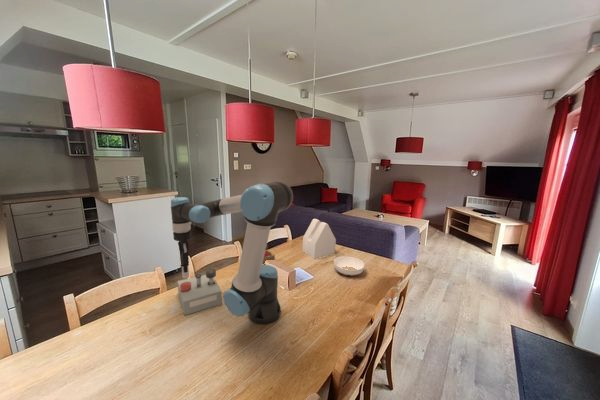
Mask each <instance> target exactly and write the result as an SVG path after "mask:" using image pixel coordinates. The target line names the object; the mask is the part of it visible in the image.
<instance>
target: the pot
mask: <svg viewBox="0 0 600 400" xmlns="http://www.w3.org/2000/svg"><path fill="white" fill-rule="evenodd" d="M201 276H202V274H201V273H197V274H196V275H195V277H196V281H197V287H200V286H201Z"/></svg>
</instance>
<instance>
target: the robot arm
mask: <svg viewBox="0 0 600 400" xmlns="http://www.w3.org/2000/svg"><path fill="white" fill-rule="evenodd" d="M293 193H294V192H293V189H292V188H291V187H290V186H289V185H288V184H287V183H285V182H282V181H273V182H268V183H267V182H266V183H257V184H255V185H252V186H248V188H246V189H245V190H244V191H243V193H242V194H239V195H233V196H228V197H226V198H225V197H224V198H219V199H216V200H212V201H211V200H210V201H206V202H201V203H190V199H189V197H185V196H181V197H180V196H179V197H173V198H171V200H170V211H171V212H170V213H171V221H172V231H173V232H172V236H173V240H174V241H176V242H177V245H178V249H179V256H180V258H179V259H180V262H181V263H180V265H179V266H180V268H181V274H182V280H185V279H189V278H190V272H189V271H190V269H189V265H190V263H189V260H190V259H189V242H188V240H190V239H192V230H191V229H192V227H191V225H192V224H193V223H197V224H205V223H206V222H208V220H209V219H211V218H216V217H219V216H224V215H230V214H235V213H236V214H237V213H242V215H243V216H244V217H243V219H244V221H245V222H246V223H247V224H246V229H245V235H244V239H243V245H242V251H241V255H240V260H239V265H238V270H237V273H236V274H235V275H234V276H233V278H232V281H231V287H230V288H228V289H227V290H226V291H225V292H224V294H223V295H222V299H223V302H224V305H225V307H226V308H227V310H228V311H229V312H230V313H231V314H232V315H234V316H236V317H239V318H240V317H244V316H246V315H247V316H248V318H249V320H250V321H251V322H252V323H255V324H257V325H269V324H271V323H273V322H276V321H277V320H278V319H279V318H280V316H281V314H282V313H281V311H282V310H281V309H282V308H281V305H280V302H279V299H278V280H279V276H278V270H277V268H276V267H275V266H272V265H269V264H265V265H262V263H263V259H264V254H265V251H266V250H267V245H268V240H269V236H270V232H271V228H272V227H273V226H275V225H277V224H276V223H277V220H278V215H279V213H281V212H284V211H286V210H288V209H289V208H290V207H291V205H292V203H293V200H294V194H293ZM192 222H193V223H192Z"/></svg>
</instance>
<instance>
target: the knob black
mask: <svg viewBox="0 0 600 400" xmlns="http://www.w3.org/2000/svg"><path fill="white" fill-rule="evenodd" d="M205 275H206V277H207V278H209V285H211V284H214V281H213V277H214V278H215V277H216V276H217V271H216V269H214V268H209V269H207V270H206V271H205Z"/></svg>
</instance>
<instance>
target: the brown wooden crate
mask: <svg viewBox="0 0 600 400" xmlns="http://www.w3.org/2000/svg"><path fill="white" fill-rule="evenodd" d="M265 252H266V253H267V254H268V256H266V257H265V256H264V259H263V263H262V264H264V263H265V261H266V260H275V258H276V257H275V256H276V255H275V254H274V253H272V252H271V250H269V249H266V250H265Z"/></svg>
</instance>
